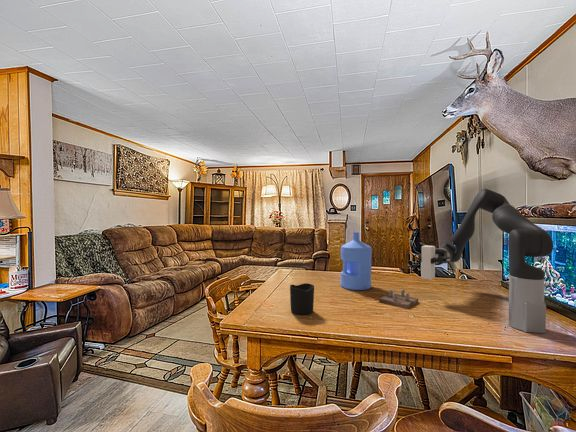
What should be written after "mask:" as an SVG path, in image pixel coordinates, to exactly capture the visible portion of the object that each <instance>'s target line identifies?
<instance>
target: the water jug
mask: <svg viewBox="0 0 576 432" xmlns="http://www.w3.org/2000/svg"><path fill="white" fill-rule="evenodd" d="M372 253H373V251H372V246H370V245H369V244H366V243H365V242H363V241H361V240H360V232H357V231H356V232H353V231H352V240H351V241H349V242H347V243H344V244H342V245H341V246H340V260H341V261H342V270H341V272H340V280H339V281H340V286H341V287H342V288H343V289H345V290H350V291H367V290H369V289H371V288H372V268H373V267H372V256H373V255H372Z"/></svg>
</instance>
